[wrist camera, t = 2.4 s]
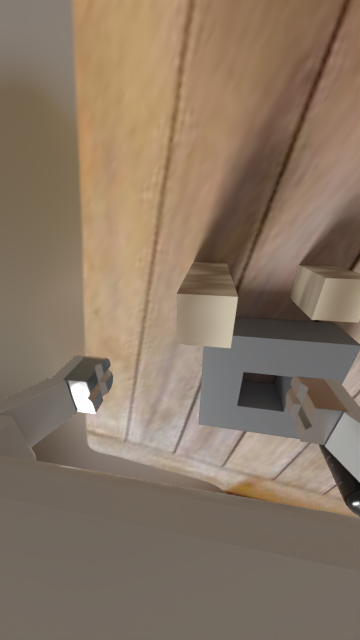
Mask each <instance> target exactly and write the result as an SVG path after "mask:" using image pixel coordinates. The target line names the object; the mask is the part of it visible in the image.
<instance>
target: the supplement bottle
mask: <svg viewBox="0 0 360 640" xmlns="http://www.w3.org/2000/svg"><path fill="white" fill-rule="evenodd" d="M319 447H320V449H321V451H322V454H323V456H324V458H325V460H326V462H327V465H328V467H329V469H330V471H331V473H332V476H333V478H334V480H335V482H336V484H337V487H338V489H339V491H340V493H341V495H342V497H343V500H344V502H345V503H346V505H347V506H348V508H349V509H350V510H351V511H352V512H354V513H355V514H356V515H358V516H360V482H359V481H358V480H357V479H356V478H355V477H354V476H353V475H352V474H351V473H350V472H349V471H348V470H347V469H346V468H345V467H344V466H343V465H342V464H341V463H340V461H339V460H338V459H337V458H336V457H335V456H334V455H333V454H332V453H331V452H330V451H329V450H328V449H327V448H326V447H325V445H321V444H319Z"/></svg>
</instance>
